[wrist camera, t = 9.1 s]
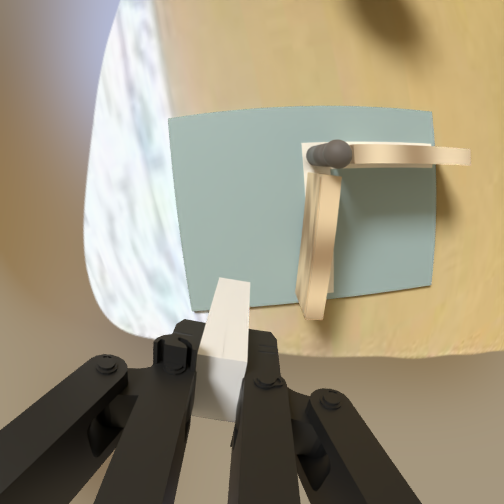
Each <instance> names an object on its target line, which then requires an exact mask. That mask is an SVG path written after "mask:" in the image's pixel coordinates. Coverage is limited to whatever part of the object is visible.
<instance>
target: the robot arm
mask: <svg viewBox="0 0 504 504" xmlns="http://www.w3.org/2000/svg"><path fill="white" fill-rule="evenodd" d="M249 304H250V282H245V281H239V280H233V279H227V278H221V277H219V280H218V284H217V287H216V291H215V294H214V297H213V301H212V304H211V308H210V311H209V315H208V318H207V322H206V323H203V322H197V321H192V320H186V319H184V320H182V321H181V322H179V323H178V324H176V327H175V329H174V331H173V333H172V334H170V335H163V336H161V337H158V338H157V339H156V340H155V341H154V347H153V365H152V366H151V367H148V368H141V369H135V368H127V364H126V363H125V361H124V360H123V359H121V358H119V357H117V356H114V355H106V354H103V355H98V356H95V357H93V358H91V359H90V360H89V361H87V362H86V363H84V364H83V365H82V366H81V367H79V368H78V369H77V370H76V371H74V372H73V373H72V374H70V375H69V376H68V377H67V378H65V379H64V380H63V381H62V382H60V383H59V384H58V385H57V386H55V387H54V388H53V389H51V390H50V391H49V392H48V393H46V394H45V395H44V396H43V397H41V398H40V399H39V400H38V401H36V402H35V403H34V404H33V405H32V406H30V407H29V408H28V409H26V410H25V411H24V412H23V413H21V414H20V415H19V416H18V417H17V418H15V419H14V420H13V421H11V422H10V423H9V424H8V425H7V426H5V427H4V428H3V429H1V430H0V504H69V503H70V502H71V501H72V499H73V498H74V497H75V496H76V495H77V494H78V492H79V491H80V490H81V489H82V488H83V486H84V485H85V484H86V483H87V482H88V481H89V479H90V478H91V477H92V476H93V475H94V473H95V472H96V471H97V470H98V469H99V468H100V466H101V465H102V464H103V463H104V462H105V460H106V459H107V458H108V457H109V456H110V454H111V453H112V452H113V450H115V452H114V454H113V457H112V459H111V462H110V464H109V466H108V469H107V471H106V474H105V476H104V479H103V481H102V484H101V486H100V489H99V491H98V494H97V496H96V499H95V501H94V504H174V500H175V495H176V490H177V486H178V481H179V476H180V471H181V466H182V461H183V457H184V452H185V448H186V443H187V438H188V434H189V429H190V420H191V414H192V416H196V417H203V418H208V419H214V420H221V421H228V422H235V427H234V432H233V436H232V441H231V445H230V446H231V447H232V454H231V466H230V480H229V492H228V504H300V496H299V486H298V476H299V478H300V481H301V483H302V485H303V488H304V490H305V492H306V494H307V497H308V499H309V501H310V503H311V504H422V503H421V502H420V500H419V499H418V498H417V496H416V495H415V493H414V492H413V491H412V489H411V488H410V486H409V485H408V484H407V482H406V480H405V479H404V478H403V476H402V475H401V473H400V472H399V470H398V469H397V468H396V466H395V465H394V463H393V462H392V461H391V459H390V458H389V456H388V455H387V453H386V452H385V450H384V449H383V448H382V446H381V445H380V443H379V442H378V440H377V439H376V438H375V436H374V435H373V433H372V432H371V430H370V429H369V428H368V426H367V425H366V423H365V422H364V420H363V419H362V418H361V416H360V415H359V413H358V412H357V410H356V409H355V407H354V406H353V405H352V403H351V402H350V400H349V399H348V398H347V397H346V396H345V395H344V394H342V393H340V392H339V391H336V390H332V389H318V390H315V391H314V392H313V393H312V394H311V396H307V395H303V394H300V393H297V392H295V391H293V390H291V389H289V388H288V387H287V384H286V382H285V380H284V379H283V378H282V377H281V375H280V365H279V356H278V348H277V339H276V338H275V337H274V336H273V334H272V333H271V332H266V331H259V330H252V329H249ZM235 419H236V420H235ZM115 448H116V449H115ZM297 474H298V476H297Z"/></svg>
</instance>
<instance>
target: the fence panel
mask: <svg viewBox="0 0 504 504" xmlns="http://www.w3.org/2000/svg"><path fill="white" fill-rule="evenodd" d="M341 180H342V177H341V176H335V175H328V174H321V173H311V172H308V173H307V185H306V196H305V207H304V217H303V227H302V237H301V246H300V255H299V264H298V273H297V281H296V289H295V294H296V296H297V299H298V301H299V304H300V307H301V309H302V312H303V315H304V317H305V320H323V315H324V309H325V303H326V297H327V291H328V285H329V278H330V271H331V264H332V257H333V250H334V243H335V235H336V227H337V218H338V209H339V200H340V190H341Z"/></svg>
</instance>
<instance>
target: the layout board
mask: <svg viewBox="0 0 504 504" xmlns="http://www.w3.org/2000/svg"><path fill="white" fill-rule="evenodd" d="M168 126H169V138H170V149H171V160H172V170H173V179H174V189H175V197H176V206H177V214H178V222H179V229H180V237H181V244H182V251H183V258H184V265H185V271H186V278H187V284H188V290H189V296H190V302H191V308H192V311H204V310H210V308H211V304H212V301H213V297H214V294H215V291H216V287H217V284H218V280H219V277H221V278H227V279H233V280H239V281H245V282H250V304H249V307H256V306H268V305H278V304H288V303H298V302H299V301H298V299H297V296H296V294H295V289H296V281H297V273H298V264H299V255H300V246H301V237H302V227H303V217H304V207H305V196H306V185H307V173H308V172H311V173H321V174H328V175H335V176H341V177H342V180H341V190H340V200H339V209H338V218H337V227H336V235H335V243H334V250H333V257H332V264H331V271H330V278H329V285H328V291H327V297H326V299H334V298H343V297H351V296H359V295H366V294H374V293H381V292H388V291H395V290H402V289H409V288H416V287H422V286H428V285H431V282H432V272H433V260H434V247H435V228H436V164H411V163H366V164H349V165H347V166H346V167H344V168H341V169H335V168H332V167H324V166H313V165H311V164H310V163H309V162H308V161H307V159H306V153H307V150H308V149H309V148H310V147H312V146H316V145H320V144H324V143H328V142H330V141H332V140H336V139H339V140H343V141H345V142H346V143H348V145H352V144H389V145H418V146H435V143H434V129H433V118H432V112H429V111H420V110H409V109H397V108H382V107H360V106H295V107H272V108H256V109H243V110H232V111H222V112H213V113H205V114H197V115H189V116H182V117H176V118H169V119H168Z"/></svg>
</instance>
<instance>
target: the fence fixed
mask: <svg viewBox="0 0 504 504" xmlns="http://www.w3.org/2000/svg"><path fill="white" fill-rule="evenodd" d="M306 159H307V161H308V162H309V163H310V164H311V165H313V166H324V167H332V168H335V169H341V168H344V167H346V166H347V165H349V164H366V163H411V164H448V165H468V166H471V150H470V149H463V148H451V147H437V146H418V145H389V144H352V145H348V143H346V142H345V141H343V140H339V139H336V140H332V141H330V142H328V143H324V144H320V145H316V146H312V147H310V148H309V149H308V150H307V153H306Z"/></svg>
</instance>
